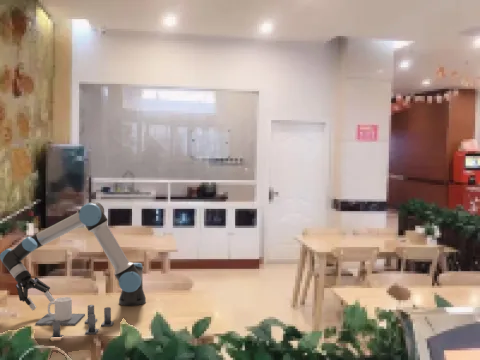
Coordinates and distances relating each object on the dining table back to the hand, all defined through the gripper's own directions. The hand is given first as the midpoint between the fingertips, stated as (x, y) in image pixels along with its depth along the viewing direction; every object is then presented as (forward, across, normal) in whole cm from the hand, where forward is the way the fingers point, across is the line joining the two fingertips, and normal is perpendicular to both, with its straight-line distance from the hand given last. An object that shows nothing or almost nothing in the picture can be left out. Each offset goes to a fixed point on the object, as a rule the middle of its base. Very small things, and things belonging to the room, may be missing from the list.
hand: (44, 305), depth 267 cm
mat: (+12, 0, +3) cm, 13 cm away
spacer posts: (+27, +8, +18) cm, 33 cm away
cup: (+12, +1, +3) cm, 12 cm away
